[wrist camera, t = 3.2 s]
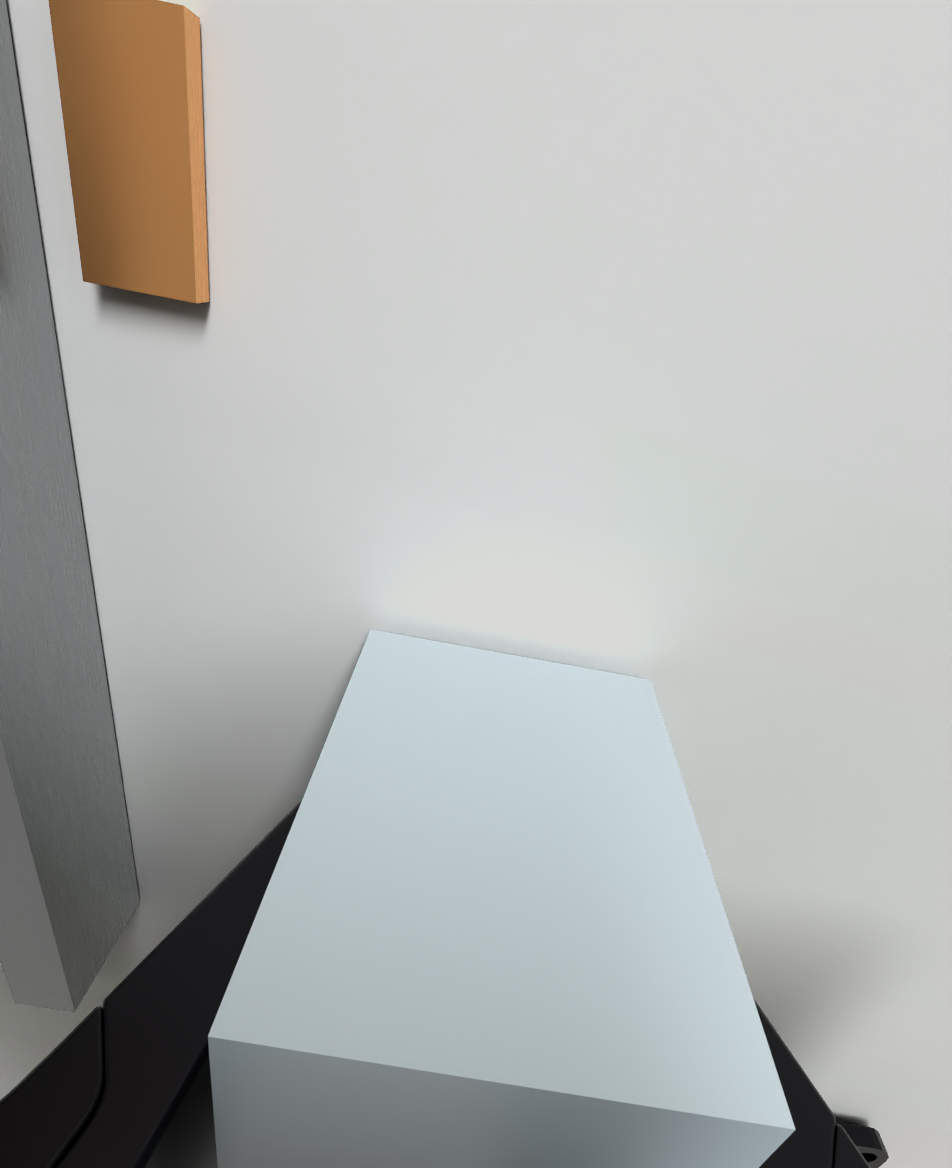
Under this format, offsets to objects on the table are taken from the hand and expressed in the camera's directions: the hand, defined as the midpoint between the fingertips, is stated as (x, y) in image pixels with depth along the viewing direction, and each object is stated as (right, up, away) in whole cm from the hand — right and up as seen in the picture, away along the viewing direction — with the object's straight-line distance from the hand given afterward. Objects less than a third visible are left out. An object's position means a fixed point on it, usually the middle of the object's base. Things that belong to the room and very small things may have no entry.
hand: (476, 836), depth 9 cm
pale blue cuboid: (0, 0, +1) cm, 1 cm away
